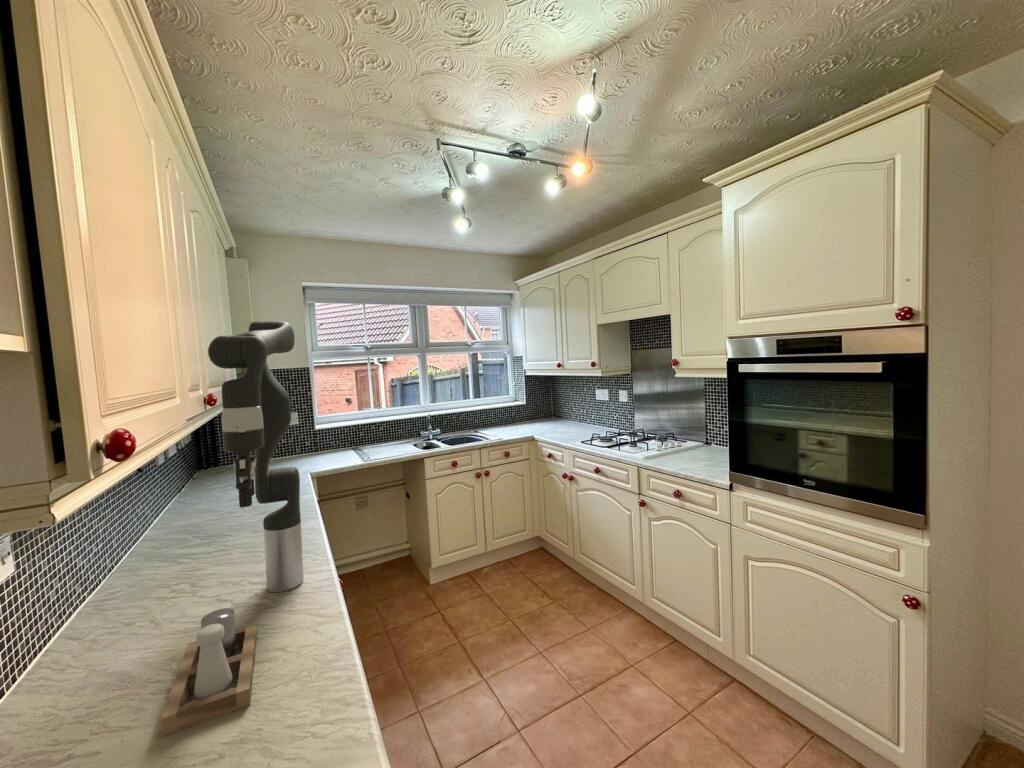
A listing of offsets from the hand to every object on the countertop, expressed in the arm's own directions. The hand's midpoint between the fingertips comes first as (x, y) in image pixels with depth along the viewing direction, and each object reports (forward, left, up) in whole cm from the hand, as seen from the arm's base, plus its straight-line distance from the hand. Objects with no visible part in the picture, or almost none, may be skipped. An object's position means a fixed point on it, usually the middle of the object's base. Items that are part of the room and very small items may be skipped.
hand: (247, 501), depth 90 cm
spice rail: (+8, -6, -32) cm, 34 cm away
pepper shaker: (+3, -6, -32) cm, 33 cm away
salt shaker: (+14, -6, -32) cm, 35 cm away
